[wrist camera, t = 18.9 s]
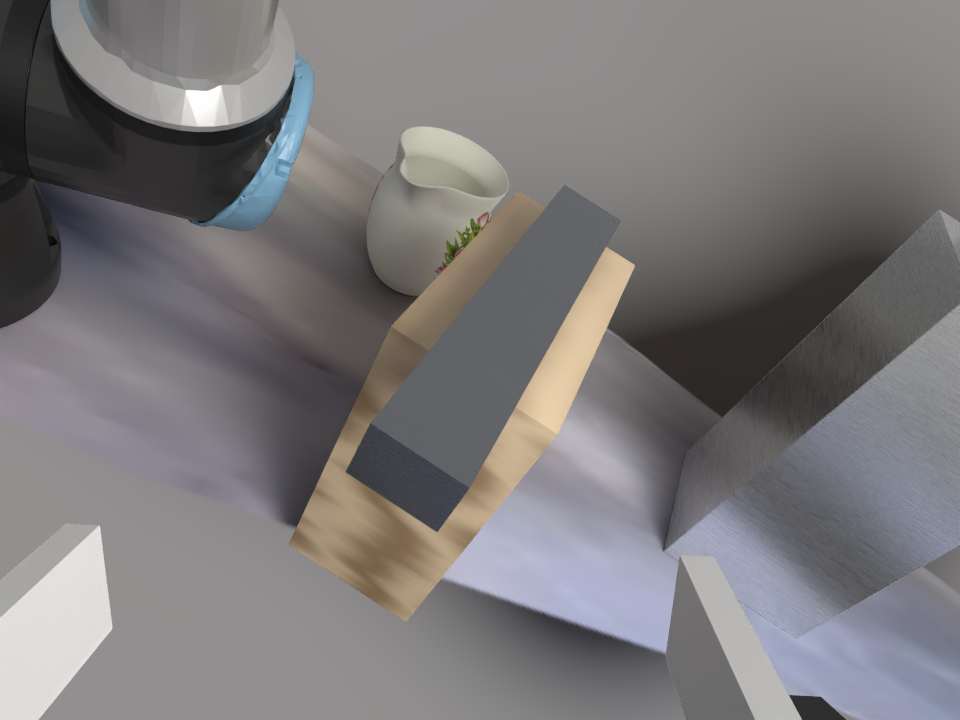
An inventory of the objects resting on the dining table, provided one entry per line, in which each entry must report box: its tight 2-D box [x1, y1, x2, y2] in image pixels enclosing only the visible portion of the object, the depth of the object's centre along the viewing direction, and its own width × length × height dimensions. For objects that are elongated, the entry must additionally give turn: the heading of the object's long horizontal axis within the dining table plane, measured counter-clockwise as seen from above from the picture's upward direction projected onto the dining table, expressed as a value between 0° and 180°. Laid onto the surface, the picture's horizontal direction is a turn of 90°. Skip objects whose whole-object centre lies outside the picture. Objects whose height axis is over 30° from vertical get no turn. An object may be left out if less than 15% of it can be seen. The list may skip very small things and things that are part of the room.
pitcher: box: [367, 126, 509, 296], centre depth 65 cm, size 11×18×14 cm, turn 148°
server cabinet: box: [664, 210, 960, 638], centre depth 53 cm, size 13×13×32 cm
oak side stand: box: [289, 191, 635, 622], centre depth 45 cm, size 9×18×20 cm, turn 156°
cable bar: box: [346, 185, 620, 532], centre depth 34 cm, size 4×24×3 cm, turn 156°
